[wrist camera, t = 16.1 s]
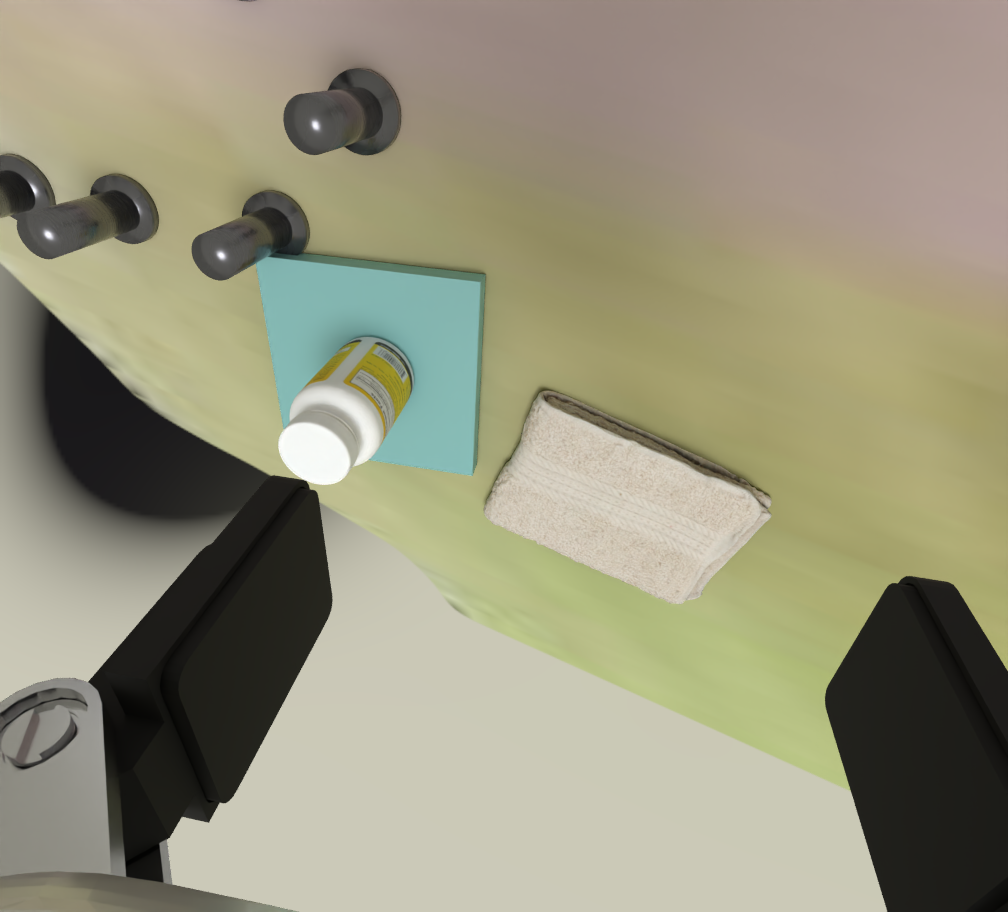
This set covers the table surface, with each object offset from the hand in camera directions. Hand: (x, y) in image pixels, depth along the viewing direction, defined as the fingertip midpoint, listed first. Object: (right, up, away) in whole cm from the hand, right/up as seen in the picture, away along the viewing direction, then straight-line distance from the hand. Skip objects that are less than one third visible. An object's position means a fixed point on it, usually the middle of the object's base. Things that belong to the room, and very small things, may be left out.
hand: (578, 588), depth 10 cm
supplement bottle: (-10, +8, +30) cm, 32 cm away
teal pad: (-10, +8, +31) cm, 33 cm away
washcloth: (+7, -1, +34) cm, 35 cm away
